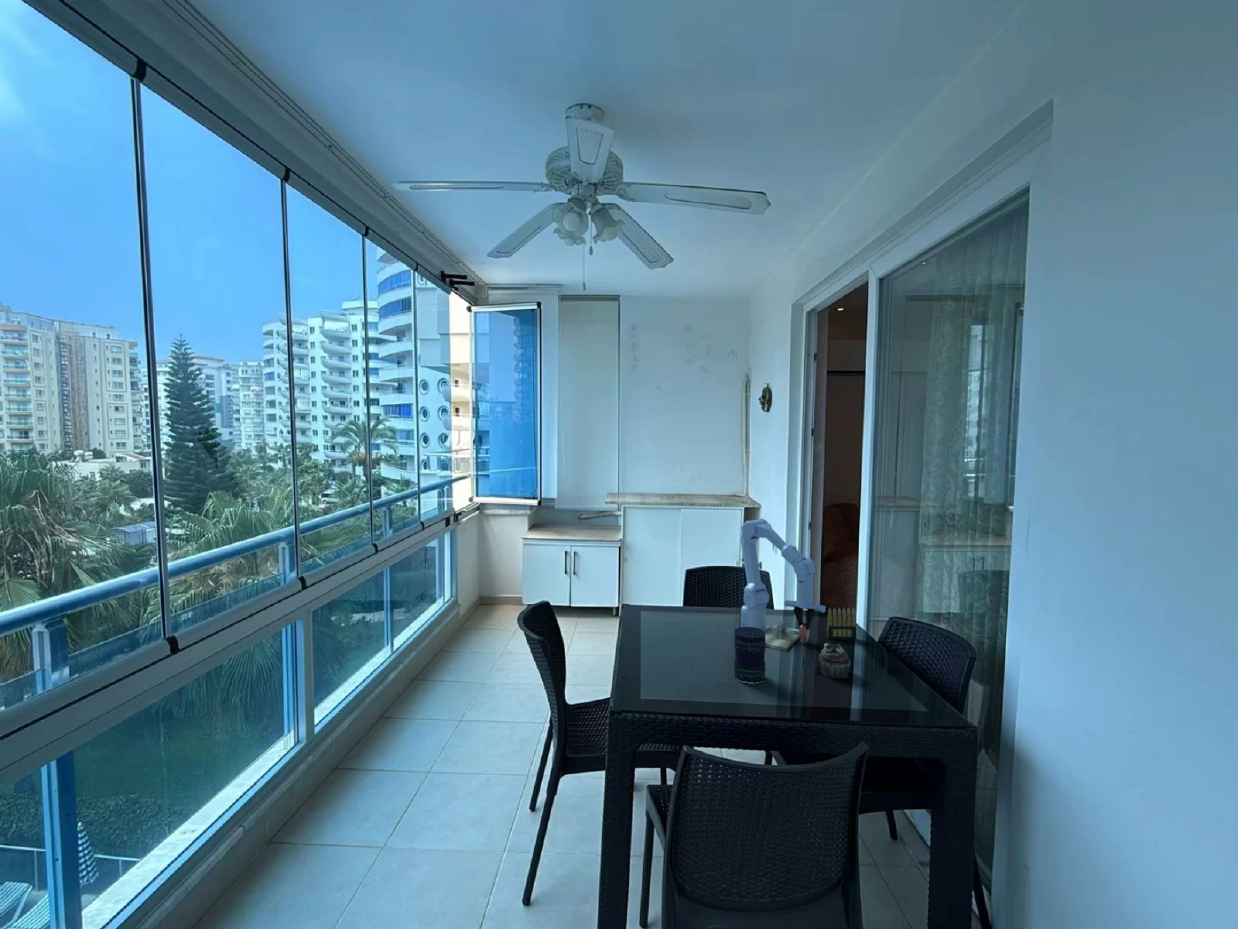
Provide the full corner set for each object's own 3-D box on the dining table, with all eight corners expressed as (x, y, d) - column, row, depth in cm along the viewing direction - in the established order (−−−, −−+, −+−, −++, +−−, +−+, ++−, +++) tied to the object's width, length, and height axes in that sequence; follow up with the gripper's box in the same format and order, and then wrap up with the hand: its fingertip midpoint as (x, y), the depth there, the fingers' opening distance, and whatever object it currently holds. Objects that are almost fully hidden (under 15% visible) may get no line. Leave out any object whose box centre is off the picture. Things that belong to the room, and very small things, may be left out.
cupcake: (853, 681, 175) (853, 650, 175) (821, 678, 177) (821, 647, 176) (847, 669, 184) (847, 639, 184) (816, 666, 186) (816, 637, 186)
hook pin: (772, 638, 211) (772, 619, 210) (777, 632, 216) (778, 615, 216) (804, 644, 204) (804, 625, 204) (809, 638, 210) (809, 620, 210)
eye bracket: (753, 644, 207) (753, 628, 207) (772, 627, 225) (772, 612, 225) (786, 651, 200) (786, 634, 200) (802, 633, 219) (802, 617, 218)
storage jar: (727, 674, 180) (727, 629, 180) (752, 669, 184) (752, 625, 184) (746, 687, 171) (746, 639, 171) (772, 681, 175) (772, 634, 174)
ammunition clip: (854, 638, 213) (855, 607, 213) (856, 640, 211) (857, 608, 211) (826, 637, 214) (826, 606, 213) (827, 639, 212) (828, 608, 212)
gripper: (782, 591, 207) (781, 627, 208) (822, 597, 199) (821, 634, 200) (787, 587, 213) (787, 622, 214) (826, 593, 205) (826, 629, 206)
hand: (804, 628), depth 207 cm, fingers closed on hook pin, 2 cm apart
